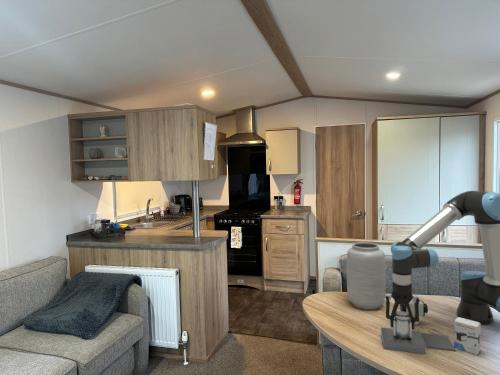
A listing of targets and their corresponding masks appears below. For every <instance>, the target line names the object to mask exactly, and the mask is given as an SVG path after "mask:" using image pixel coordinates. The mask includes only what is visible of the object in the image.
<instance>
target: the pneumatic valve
mask: <svg viewBox="0 0 500 375" xmlns="http://www.w3.org/2000/svg"><path fill="white" fill-rule="evenodd" d="M409 305H410V309H411V312H412V315H413V318H414V317H415V307H414V301H413V299H412V300H411V301H410V302H409ZM418 306H419V322H417V321H416V322H415V323H414V326H416V325H417V326H419V324H420V322H421V319H420V317H426V314H428V312H429V308H428V304H427V303H425V302H424V301H423V300H422V299H420V302H419V304H418ZM399 311H403V312H407V313H408V310H407V307H406V305H403V304H401V305H399ZM410 320H411V319H410Z"/></svg>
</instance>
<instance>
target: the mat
mask: <svg viewBox="0 0 500 375" xmlns="http://www.w3.org/2000/svg"><path fill="white" fill-rule="evenodd" d="M420 333H421V335H422V338H423V340H424V342H425V345H426V349H431V350H442V351H449V352H456V348H454V344H453V343H452V341H451V340H450V338H449V335H446V334H445V335H444V334H435V333H427V332H426V333H425V332H420Z"/></svg>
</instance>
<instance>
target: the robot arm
mask: <svg viewBox="0 0 500 375" xmlns="http://www.w3.org/2000/svg"><path fill="white" fill-rule="evenodd" d="M467 216H471V217H473V218H474V220H473V221H474V223H475V224H476V225H477V226H479V232H480V239H481V247H482V253H483V254H482V255H483V260H484V261H483V262H484V268H485V271H480V270H466V271H463V272H461V274H460V302H459V304H458V306H457V308H456V316H457V317H460V318H464V319H468V320H472V321H475V322H479V323H481V325H490V324H493V323H494V315H493V312H492V309H491V306H492V307H494V308H497V310H500V193H499V192H496V191H495V192H494V191H478V190H469V191H464V192H461V193H459V194H457V195H456V196H454V197H452V198H451V199H449V200H448V201H447V202H445V203H444V204H443V205H442V208H441V209H440V210H438V212H436V214H434V215H433V216H432V217H430V218H429V219H428V220H427V221H426V222H424V223H423V224H422V225H421V226H420V227H418V228H417V229H416V230H414V231H413V232H412V233H411V234H410V235H408V236H407V237H406V238H404V239H403V240H402V241H395V242H393V243H392V244H391V246H390V253H391V261H392V262H391V264H392V266H391V267H392V279H391V280H392V291H391V293H390V294H386V293H385V301H386V302H385V318H386V319H388V320H390V321H389V325H390V328H391V329H393V335H394V336H396V321H395V317H394V315H395V314H396V311H398V308H399V307H400V305H401V304H403V305H406V307H407V310H408V313H409V316H411V320H409V337H410V338H412V331H415V325H414V323H415V322H416V321H417V322H419V318H420V316H419V306H418V304H419V302H420V300H421V299H420V298H419V297H418V296H413V294H412V293H413V292H412V291H413V287H412V281H413V279H412V278H413V276H412V274H413V273H412V271H413V269H420V268H421V269H422V268H431V267H436V266H437V265H438V263H439V254H438V252H436V250H434V249H432V248H425V249H424V248H423V247H425V246H426V245H428V243H429V242H431V241H432V240H433V239H435V238H436V237H437V236H438V235H439V234H440V233H442V232H443V231H445V230H446V229H447V228H448V227H450V226H451V225H452V224H453V223H454V222H456V221H459V220H461V219H463V218H464V217H467ZM412 299H413V301H414V307H415V317H414V318H413V315H412V312H411V309H410V305H409V302H410V301H411V300H412ZM392 300H394V304H393V306H392V310H391V313H390V308H391V306H390V304H391V301H392Z"/></svg>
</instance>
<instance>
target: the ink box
mask: <svg viewBox="0 0 500 375" xmlns="http://www.w3.org/2000/svg"><path fill="white" fill-rule="evenodd" d="M453 325H454V326H453V328H454V329H453V331H454V332H453V333H454V334H453V337H454V339H453V340H454V341H453V346H454V348H455V349H457V350H461V351H463V352H464V351H465V352H467V353H471V354H474V355H477V356H478V355H479V353H480V352H481V330H482V329H481V325H482V324H481V323H479V322H475V321H472V320H468V319H464V318H460V317H458V316H457V317H456V318H455V319H454V324H453Z"/></svg>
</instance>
